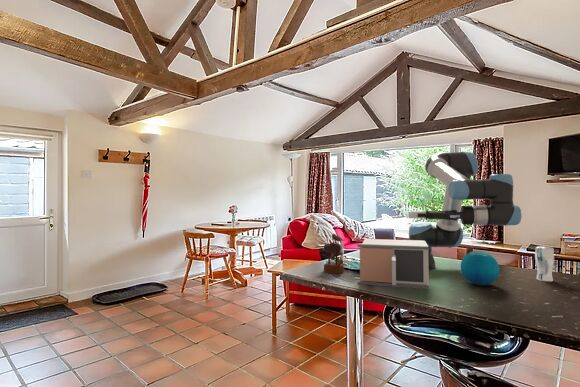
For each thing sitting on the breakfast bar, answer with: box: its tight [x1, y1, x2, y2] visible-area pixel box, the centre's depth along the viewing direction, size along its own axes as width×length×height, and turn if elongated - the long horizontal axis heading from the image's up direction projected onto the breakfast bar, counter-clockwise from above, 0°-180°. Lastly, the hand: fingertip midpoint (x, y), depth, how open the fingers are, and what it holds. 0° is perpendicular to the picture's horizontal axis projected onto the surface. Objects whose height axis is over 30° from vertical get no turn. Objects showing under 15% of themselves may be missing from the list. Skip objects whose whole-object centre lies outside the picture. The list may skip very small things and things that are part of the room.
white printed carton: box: [534, 245, 555, 283], centre depth 154 cm, size 7×7×15 cm
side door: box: [359, 247, 396, 285], centre depth 144 cm, size 16×14×15 cm
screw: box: [339, 241, 347, 263], centre depth 193 cm, size 13×5×5 cm
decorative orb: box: [460, 250, 500, 287], centre depth 148 cm, size 15×15×15 cm
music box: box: [318, 233, 345, 275], centre depth 176 cm, size 15×11×20 cm
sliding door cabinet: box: [356, 238, 430, 290], centre depth 156 cm, size 30×18×18 cm, turn 73°
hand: (408, 214), depth 137 cm, fingers closed
